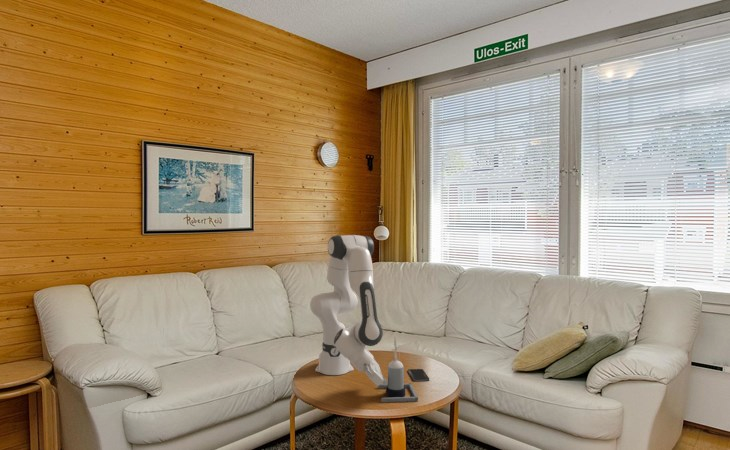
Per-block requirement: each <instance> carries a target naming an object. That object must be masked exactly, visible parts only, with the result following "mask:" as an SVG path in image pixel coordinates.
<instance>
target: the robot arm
mask: <svg viewBox="0 0 730 450" xmlns="http://www.w3.org/2000/svg"><path fill="white" fill-rule="evenodd" d="M374 250H375V243H374V241H373V239H372V237H370V236H367V235H359V234H357V235H356V234H347V235H345V234H344V235H339V234H338V235H334V236H331V237H330V238H329V240H328V242H327V252H328V254H329V256H330V258H329V263H328V269H327V276H326V280H327V282H328V283H329V284H330V285H331V286H333V290H332V291H331V292H322V293H319V294H316V295H314V296H313V297H312V298H311V300H310V302H309V305H310V306H309V308H310V311H311V313H312V314H313V315H315V316H316V317H317V318H318V319H319V321H320V323H321V326H322V340H323V341H322V344H321V348H322V351H321V352H320V353H319V355H318V358H319V359H318V365H317V366H316V368H315V370H314V371H315V373H316V372H317V373H321V374H323V375H326V376H339V375H345V374H347V373H349V372H353V371H354V370H355V369H356V370H357V371H358V372H359V373H361V372H363V373H365V374H366V377H368V378H369V380H371V382H372V383H374V385H376V387H378V386H380V385H381V384H384V385H385V386H386V385H387V384H388V379H387V378H385V376H384V375H383V374H382V370H381V368H380V365H379V363H378V362H377V361H376V359H375V357H374V355H373V354H372V353H371V352H370V351H369V349H368V348H367V347H374V346H376V345H378V344H379V343H380V342H381V340H382V338H383V336H384V334H383V332H384V330H383V328H382V326H381V322H380V321H379V319H378V312H377V304H376V303H377V302H376V295H375V287H374V285H375V283H374V267H373V260H372V259H373V258H372V255H373V253H374ZM358 299H359V300H358ZM359 303H360V312H361V321H360V320H359V321H357V322H356V323H354V324H353V325H350V326H348V327H346V326H345V324H344V323H342V322H341V321H339V320H338V317H337V316H338V315H340V314H347V313H349V312H352V311H354V310H355V309H357V306H358V305H359ZM366 346H367V347H366ZM354 368H355V369H354Z"/></svg>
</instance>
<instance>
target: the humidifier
mask: <svg viewBox="0 0 730 450" xmlns="http://www.w3.org/2000/svg"><path fill="white" fill-rule="evenodd" d="M393 342H394V344H393V345H394V351H393V355H394V359H393V360H392V361H390V362H389V363H388V366H387V382H388V386H387V388H385V389H386V390H385V394H386V397H387V398H390V397H406V388H405V387H404V384H405V383H404V382H405V381H404V379H405V378H404V375H405V372H404V371H405V370H404V369H405V368H404V364H403V363H402V361H400V359H398V357H399V358H400V352H401V351H400V350H399V354H398V357H397V351H398V347H397V335H396V336H395V335H394V341H393Z"/></svg>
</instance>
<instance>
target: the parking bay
mask: <svg viewBox="0 0 730 450" xmlns="http://www.w3.org/2000/svg"><path fill="white" fill-rule="evenodd" d="M387 386H388V384H387V385H386V386H385V385H384V384H383V383H382V384H381V385H380V386H377V389H379V390H380V389H381V390H383V389H387ZM404 387H405V389H409V391H410V393H411V395H412V396H404V397H381V400H380V401H381V403H403V402H404V403H405V402H407V401H408V402H409V403H410V402H418V401H419V397H418V395H417V392H416V391H415V389H414V387H413V385H412V383H404Z"/></svg>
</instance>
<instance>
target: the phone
mask: <svg viewBox="0 0 730 450" xmlns="http://www.w3.org/2000/svg"><path fill="white" fill-rule="evenodd" d="M407 373H408V375H409V376H410V378H411V380H412V382H429V381H430V377H429V376H428V374H427V373H426V372H425V370H424V369H423V368H411V369H410V368H409V369H407Z"/></svg>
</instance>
